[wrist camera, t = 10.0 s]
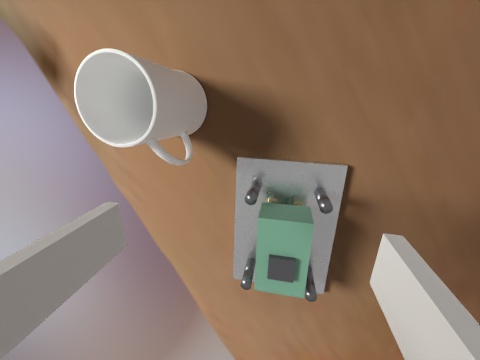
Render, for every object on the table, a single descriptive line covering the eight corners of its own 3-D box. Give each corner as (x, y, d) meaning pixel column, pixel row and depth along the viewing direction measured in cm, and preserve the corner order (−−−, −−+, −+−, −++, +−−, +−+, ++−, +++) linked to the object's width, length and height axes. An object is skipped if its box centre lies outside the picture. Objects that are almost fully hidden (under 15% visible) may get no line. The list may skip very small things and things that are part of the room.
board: (262, 202, 29) (257, 220, 24) (309, 206, 28) (314, 226, 23) (258, 266, 32) (253, 293, 27) (301, 272, 31) (304, 302, 26)
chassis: (238, 155, 31) (227, 165, 25) (345, 164, 28) (360, 177, 23) (234, 274, 37) (225, 303, 31) (322, 289, 34) (329, 324, 29)
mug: (228, 143, 30) (194, 162, 19) (177, 165, 33) (121, 194, 22) (189, 57, 28) (125, 22, 17) (138, 88, 31) (53, 75, 19)
